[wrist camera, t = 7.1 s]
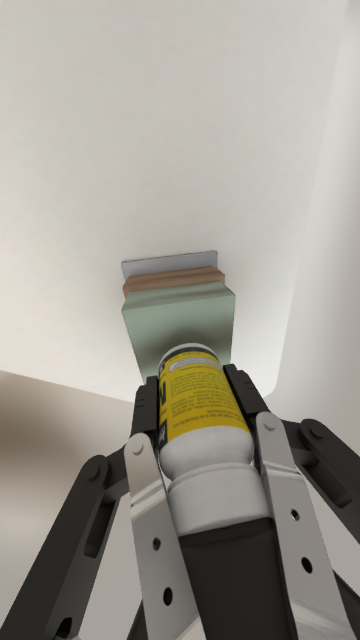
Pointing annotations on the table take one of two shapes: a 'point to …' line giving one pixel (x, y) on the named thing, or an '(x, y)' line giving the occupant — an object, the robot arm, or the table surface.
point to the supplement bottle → (205, 445)
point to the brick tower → (178, 314)
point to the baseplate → (169, 263)
